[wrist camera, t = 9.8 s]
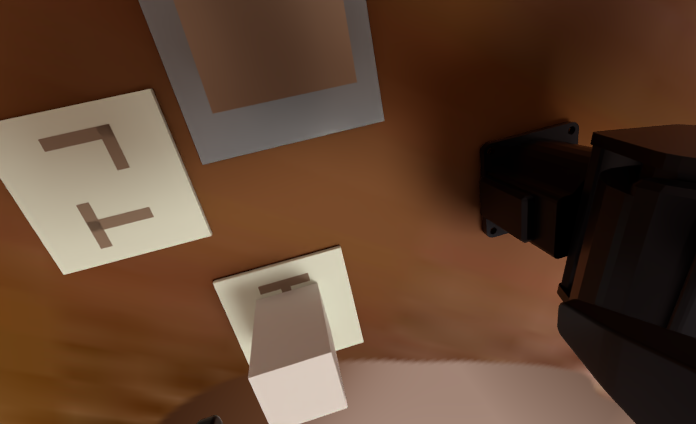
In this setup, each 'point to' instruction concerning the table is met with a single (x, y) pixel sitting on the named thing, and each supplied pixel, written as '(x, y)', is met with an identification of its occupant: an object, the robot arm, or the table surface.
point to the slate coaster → (274, 116)
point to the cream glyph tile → (100, 180)
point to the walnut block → (266, 48)
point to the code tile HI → (290, 275)
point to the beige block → (295, 358)
